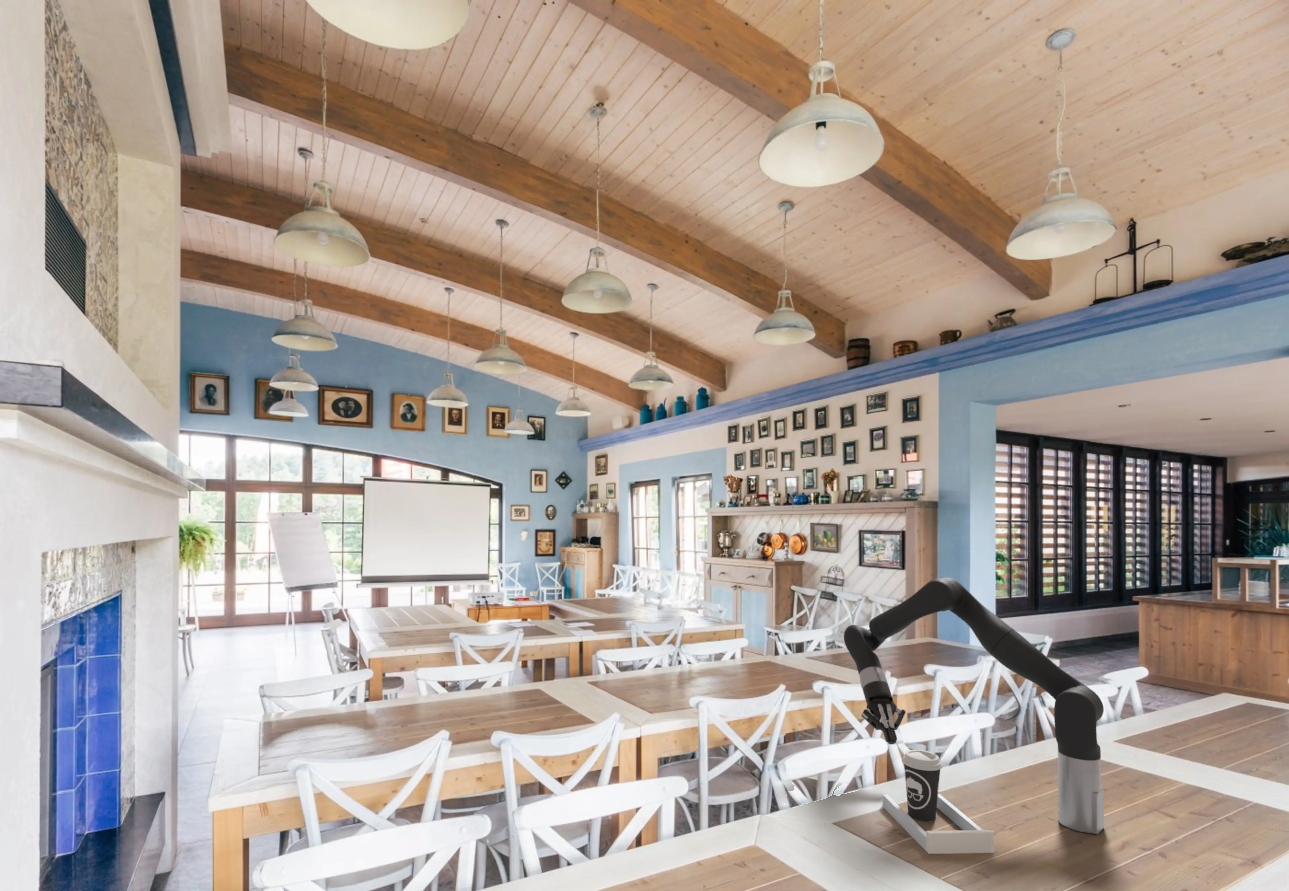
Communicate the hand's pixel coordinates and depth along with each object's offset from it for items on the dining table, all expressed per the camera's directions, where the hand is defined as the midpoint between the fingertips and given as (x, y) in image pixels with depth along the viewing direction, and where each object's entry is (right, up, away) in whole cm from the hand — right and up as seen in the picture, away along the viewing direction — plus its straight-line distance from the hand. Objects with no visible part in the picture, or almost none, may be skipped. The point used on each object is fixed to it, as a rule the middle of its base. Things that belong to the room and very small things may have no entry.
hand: (892, 742), depth 204 cm
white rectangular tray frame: (+2, -11, -25) cm, 27 cm away
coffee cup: (+1, -11, -19) cm, 22 cm away
